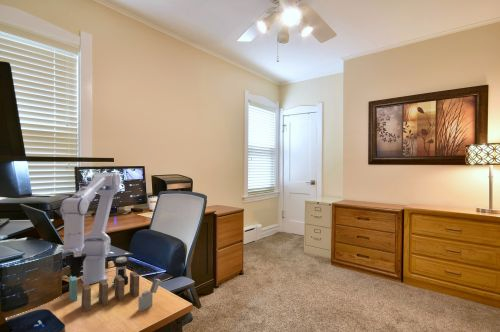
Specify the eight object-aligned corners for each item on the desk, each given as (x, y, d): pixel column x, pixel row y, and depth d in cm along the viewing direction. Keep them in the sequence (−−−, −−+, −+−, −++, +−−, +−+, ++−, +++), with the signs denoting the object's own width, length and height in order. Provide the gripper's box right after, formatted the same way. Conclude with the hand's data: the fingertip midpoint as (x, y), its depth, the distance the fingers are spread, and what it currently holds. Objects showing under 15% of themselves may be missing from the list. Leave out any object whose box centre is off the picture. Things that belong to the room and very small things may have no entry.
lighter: (141, 311, 84) (141, 286, 84) (138, 309, 85) (138, 284, 85) (160, 302, 90) (160, 278, 90) (157, 300, 91) (157, 277, 91)
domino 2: (129, 291, 97) (129, 272, 97) (134, 290, 98) (134, 271, 98) (134, 296, 93) (134, 276, 93) (139, 295, 94) (139, 275, 94)
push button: (111, 289, 98) (111, 262, 98) (107, 284, 102) (107, 258, 102) (130, 284, 102) (130, 258, 102) (125, 280, 106) (126, 255, 106)
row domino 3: (114, 296, 93) (115, 276, 93) (119, 294, 94) (119, 275, 94) (119, 301, 90) (119, 280, 90) (124, 300, 91) (124, 279, 91)
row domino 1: (81, 305, 87) (81, 284, 87) (87, 304, 88) (87, 282, 88) (84, 312, 83) (85, 289, 83) (90, 310, 84) (90, 288, 84)
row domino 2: (98, 300, 90) (99, 280, 90) (103, 299, 91) (104, 278, 91) (102, 306, 86) (102, 285, 86) (107, 305, 87) (108, 283, 87)
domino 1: (69, 296, 93) (69, 276, 93) (74, 294, 94) (74, 275, 94) (71, 301, 89) (71, 281, 89) (77, 300, 90) (77, 279, 90)
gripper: (57, 230, 94) (56, 268, 94) (63, 239, 83) (62, 282, 83) (80, 227, 99) (79, 264, 99) (89, 235, 88) (88, 276, 88)
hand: (73, 272), depth 91 cm, fingers open, 7 cm apart
